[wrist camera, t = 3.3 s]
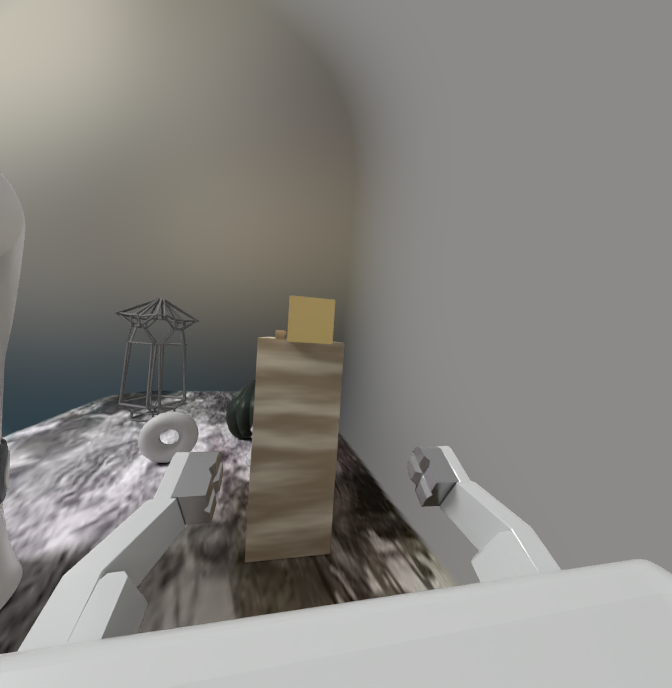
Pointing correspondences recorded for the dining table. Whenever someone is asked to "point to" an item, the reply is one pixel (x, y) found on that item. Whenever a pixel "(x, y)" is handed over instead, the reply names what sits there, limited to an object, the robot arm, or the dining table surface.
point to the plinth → (293, 448)
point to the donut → (158, 424)
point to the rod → (310, 320)
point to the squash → (242, 412)
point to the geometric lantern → (128, 349)
